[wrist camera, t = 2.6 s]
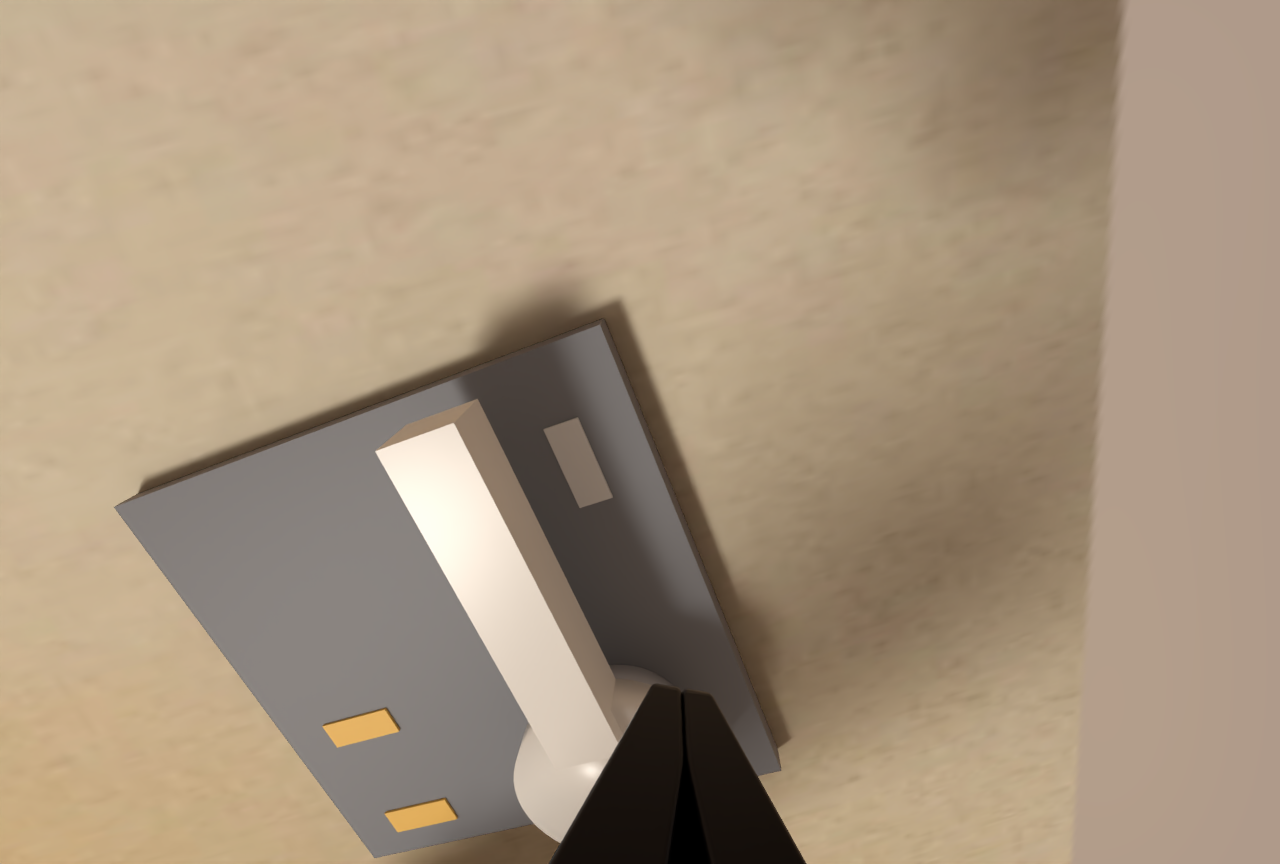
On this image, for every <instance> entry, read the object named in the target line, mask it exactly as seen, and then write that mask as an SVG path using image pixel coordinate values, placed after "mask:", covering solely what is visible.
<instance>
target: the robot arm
mask: <svg viewBox="0 0 1280 864" xmlns="http://www.w3.org/2000/svg"><path fill="white" fill-rule="evenodd" d="M549 864H806V862H805V860H804V859H803V857H802V855H801V853H800V851H799V850H798V848H797V846H796V844H795V842H794V841H793V839H792V837H791V835H790V834H789V832H788V830H787V828H786V826H785V825H784V823H783V821H782V819H781V817H780V816H779V814H778V812H777V810H776V808H775V807H774V805H773V803H772V801H771V799H770V798H769V796H768V794H767V792H766V790H765V789H764V787H763V785H762V783H761V781H760V780H759V778H758V776H757V774H756V773H755V771H754V769H753V767H752V765H751V764H750V762H749V760H748V758H747V756H746V755H745V753H744V751H743V749H742V747H741V746H740V744H739V742H738V740H737V738H736V737H735V735H734V733H733V731H732V729H731V728H730V726H729V724H728V722H727V720H726V719H725V717H724V715H723V713H722V711H721V710H720V708H719V706H718V704H717V703H716V701H715V699H714V697H713V696H712V695H711V694H710V693H708V692H704V691H698V690H693V689H684V690H682V692H681V690H680V689H679V688H678V687H676V686H670V685H664V684H658V683H655V684H653V685H651V687H650V688H649V690H648V692H647V693H646V695H645V697H644V699H643V700H642V702H641V704H640V706H639V707H638V709H637V711H636V713H635V714H634V716H633V718H632V720H631V721H630V723H629V725H628V727H627V728H626V730H625V732H624V733H623V735H622V737H621V739H620V740H619V742H618V744H617V746H616V747H615V749H614V751H613V753H612V754H611V756H610V758H609V760H608V761H607V763H606V765H605V767H604V768H603V770H602V772H601V774H600V775H599V777H598V779H597V780H596V782H595V784H594V786H593V787H592V789H591V791H590V793H589V794H588V796H587V798H586V800H585V801H584V803H583V805H582V807H581V808H580V810H579V812H578V814H577V815H576V817H575V819H574V821H573V822H572V824H571V826H570V827H569V829H568V831H567V833H566V834H565V836H564V838H563V840H562V841H561V843H560V845H559V847H558V848H557V850H556V852H555V854H554V855H553V857H552V859H551V861H550V862H549Z"/></svg>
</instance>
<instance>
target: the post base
mask: <svg viewBox="0 0 1280 864" xmlns="http://www.w3.org/2000/svg"><path fill="white" fill-rule="evenodd" d="M476 399H478V400H479V403H480V405H481V407H482V409H483V411H484V413H485V415H486V417H487V419H488V421H489V423H490V425H491V427H492V429H493V431H494V433H495V435H496V437H497V439H498V441H499V443H500V445H501V447H502V449H503V451H504V453H505V455H506V457H507V459H508V461H509V463H510V465H511V467H512V470H513V472H514V474H515V476H516V478H517V480H518V482H519V484H520V486H521V488H522V490H523V492H524V494H525V496H526V498H527V500H528V502H529V504H530V506H531V508H532V510H533V512H534V514H535V516H536V518H537V520H538V522H539V524H540V526H541V528H542V530H543V532H544V534H545V537H546V539H547V541H548V543H549V545H550V547H551V549H552V551H553V553H554V555H555V557H556V559H557V561H558V563H559V565H560V567H561V569H562V571H563V573H564V575H565V577H566V579H567V581H568V583H569V585H570V587H571V589H572V591H573V593H574V595H575V597H576V599H577V601H578V604H579V606H580V608H581V610H582V612H583V614H584V616H585V618H586V620H587V622H588V624H589V626H590V628H591V630H592V632H593V634H594V636H595V638H596V640H597V642H598V644H599V646H600V648H601V650H602V652H603V654H604V656H605V658H606V660H607V662H608V664H609V666H610V668H611V671H612V673H613V675H614V677H615V679H626V680H634V681H638V682H643V683H647V684H650V685H653V684H655V683H658V684H664V685H670V686H676V687H678V688H679V689H680V690H681V692H682V690H684V689H693V690H698V691H704V692H708V693H710V694H711V695H712V696H713V697H714V699H715V701H716V703H717V704H718V706H719V708H720V710H721V711H722V713H723V715H724V717H725V719H726V720H727V722H728V724H729V726H730V728H731V729H732V731H733V733H734V735H735V737H736V738H737V740H738V742H739V744H740V746H741V747H742V749H743V751H744V753H745V755H746V756H747V758H748V760H749V762H750V764H751V765H752V767H753V769H754V771H755V773H756V774H757V776H759V775H763V774H768V773H773V772H777V771H781V765H780V759H779V753H778V749H777V746H776V744H775V741H774V739H773V736H772V734H771V731H770V729H769V726H768V724H767V721H766V719H765V716H764V714H763V711H762V709H761V706H760V704H759V701H758V699H757V697H756V694H755V692H754V689H753V687H752V684H751V682H750V679H749V677H748V674H747V672H746V669H745V667H744V664H743V662H742V659H741V657H740V654H739V652H738V649H737V647H736V644H735V642H734V639H733V637H732V635H731V632H730V630H729V627H728V625H727V622H726V620H725V617H724V615H723V612H722V610H721V607H720V605H719V602H718V600H717V597H716V595H715V592H714V590H713V587H712V585H711V582H710V580H709V577H708V575H707V572H706V570H705V568H704V565H703V563H702V560H701V558H700V555H699V553H698V550H697V548H696V545H695V543H694V540H693V538H692V535H691V533H690V530H689V528H688V525H687V523H686V520H685V518H684V515H683V513H682V510H681V508H680V506H679V503H678V501H677V498H676V496H675V493H674V491H673V488H672V486H671V483H670V481H669V478H668V476H667V473H666V471H665V468H664V466H663V463H662V461H661V458H660V456H659V453H658V451H657V448H656V446H655V443H654V441H653V439H652V436H651V434H650V431H649V429H648V426H647V424H646V421H645V419H644V416H643V414H642V411H641V409H640V406H639V404H638V401H637V399H636V396H635V394H634V391H633V389H632V386H631V384H630V381H629V379H628V377H627V374H626V372H625V369H624V367H623V364H622V362H621V359H620V357H619V354H618V352H617V349H616V347H615V344H614V342H613V339H612V337H611V334H610V332H609V329H608V327H607V324H606V322H605V319H604V318H603V319H600V320H598V321H595V322H593V323H590V324H587V325H585V326H582V327H579V328H577V329H574V330H571V331H569V332H566V333H563V334H561V335H558V336H555V337H553V338H550V339H547V340H545V341H542V342H539V343H537V344H534V345H532V346H529V347H526V348H524V349H521V350H518V351H516V352H513V353H510V354H508V355H505V356H502V357H500V358H497V359H494V360H492V361H489V362H486V363H484V364H481V365H478V366H476V367H473V368H470V369H468V370H465V371H463V372H460V373H457V374H455V375H452V376H449V377H447V378H444V379H441V380H439V381H436V382H433V383H431V384H428V385H425V386H423V387H420V388H417V389H415V390H412V391H409V392H407V393H404V394H402V395H399V396H396V397H394V398H391V399H388V400H386V401H383V402H380V403H378V404H375V405H372V406H370V407H367V408H364V409H362V410H359V411H356V412H354V413H351V414H348V415H346V416H343V417H341V418H338V419H335V420H333V421H330V422H327V423H325V424H322V425H319V426H317V427H314V428H311V429H309V430H306V431H303V432H301V433H298V434H295V435H293V436H290V437H287V438H285V439H282V440H279V441H277V442H274V443H272V444H269V445H266V446H264V447H261V448H258V449H256V450H253V451H250V452H248V453H245V454H242V455H240V456H237V457H234V458H232V459H229V460H226V461H224V462H221V463H218V464H216V465H213V466H211V467H208V468H205V469H203V470H200V471H197V472H195V473H192V474H189V475H187V476H184V477H181V478H179V479H176V480H173V481H171V482H168V483H165V484H163V485H160V486H157V487H155V488H152V489H150V490H147V491H144V492H142V493H139V494H136V495H135V496H133V497H131V498H129V499H127V500H126V501H124V502H122V503H120V504H118V505H117V506H115V507H114V508H115V509H116V511H117V512H118V513H119V515H120V516H121V517H122V519H123V520H124V521H125V523H126V524H127V525H128V527H129V528H130V529H131V531H132V532H133V534H134V535H135V536H136V538H137V539H138V540H139V542H140V543H141V544H142V546H143V547H144V548H145V550H146V551H147V552H148V554H149V555H150V556H151V558H152V559H153V560H154V562H155V563H156V564H157V566H158V567H159V569H160V570H161V571H162V573H163V574H164V575H165V577H166V578H167V579H168V581H169V582H170V583H171V585H172V586H173V587H174V589H175V590H176V591H177V593H178V594H179V595H180V597H181V598H182V599H183V601H184V602H185V604H186V605H187V606H188V608H189V609H190V610H191V612H192V613H193V614H194V616H195V617H196V618H197V620H198V621H199V622H200V624H201V625H202V626H203V628H204V629H205V630H206V632H207V633H208V634H209V636H210V637H211V639H212V640H213V641H214V643H215V644H216V645H217V647H218V648H219V649H220V651H221V652H222V653H223V655H224V656H225V657H226V659H227V660H228V661H229V663H230V664H231V665H232V667H233V668H234V669H235V671H236V672H237V674H238V675H239V676H240V678H241V679H242V680H243V682H244V683H245V684H246V686H247V687H248V688H249V690H250V691H251V692H252V694H253V695H254V696H255V698H256V699H257V700H258V702H259V703H260V704H261V706H262V707H263V709H264V710H265V711H266V713H267V714H268V715H269V717H270V718H271V719H272V721H273V722H274V723H275V725H276V726H277V727H278V729H279V730H280V731H281V733H282V734H283V735H284V737H285V738H286V739H287V741H288V742H289V744H290V745H291V746H292V748H293V749H294V750H295V752H296V753H297V754H298V756H299V757H300V758H301V760H302V761H303V762H304V764H305V765H306V766H307V768H308V769H309V770H310V772H311V773H312V774H313V776H314V777H315V779H316V780H317V781H318V783H319V784H320V785H321V787H322V788H323V789H324V791H325V792H326V793H327V795H328V796H329V797H330V799H331V800H332V801H333V803H334V804H335V805H336V807H337V808H338V809H339V811H340V812H341V814H342V815H343V816H344V818H345V819H346V820H347V822H348V823H349V824H350V826H351V827H352V828H353V830H354V831H355V832H356V834H357V835H358V836H359V838H360V839H361V840H362V842H363V843H364V844H365V846H366V847H367V849H368V850H369V851H370V853H371V854H372V855H373V857H374V858H377V857H382V856H387V855H391V854H396V853H401V852H405V851H410V850H415V849H419V848H424V847H429V846H433V845H438V844H443V843H447V842H452V841H456V840H461V839H466V838H470V837H475V836H480V835H484V834H489V833H494V832H498V831H503V830H508V829H512V828H517V827H522V826H526V825H531V824H534V823H533V822H532V821H531V820H530V819H529V817H528V816H527V814H526V813H525V812H524V810H523V809H522V807H521V805H520V803H519V801H518V798H517V795H516V792H515V787H514V768H515V763H516V759H517V756H518V753H519V749H520V746H521V742H522V739H523V736H524V732H525V729H526V726H527V724H528V720H527V718H526V717H525V715H524V713H523V711H522V710H521V708H520V706H519V704H518V703H517V701H516V699H515V697H514V696H513V694H512V692H511V690H510V688H509V687H508V685H507V683H506V681H505V680H504V678H503V676H502V674H501V673H500V671H499V669H498V667H497V666H496V664H495V662H494V660H493V659H492V657H491V655H490V653H489V651H488V650H487V648H486V646H485V644H484V643H483V641H482V639H481V637H480V636H479V634H478V632H477V630H476V629H475V627H474V625H473V623H472V621H471V620H470V618H469V616H468V614H467V613H466V611H465V609H464V607H463V606H462V604H461V602H460V600H459V599H458V597H457V595H456V593H455V592H454V590H453V588H452V586H451V584H450V583H449V581H448V579H447V577H446V576H445V574H444V572H443V570H442V569H441V567H440V565H439V563H438V562H437V560H436V558H435V556H434V554H433V553H432V551H431V549H430V547H429V546H428V544H427V542H426V540H425V539H424V537H423V535H422V533H421V532H420V530H419V528H418V526H417V525H416V523H415V521H414V519H413V517H412V516H411V514H410V512H409V510H408V509H407V507H406V505H405V503H404V502H403V500H402V498H401V496H400V495H399V493H398V491H397V489H396V487H395V486H394V484H393V482H392V480H391V479H390V477H389V475H388V473H387V472H386V470H385V468H384V466H383V465H382V463H381V461H380V459H379V458H378V456H377V454H376V452H375V451H376V450H377V449H378V448H379V447H381V446H382V445H383V444H384V443H385V442H386V441H388V440H389V439H390V438H391V437H392V436H394V435H395V434H396V433H397V432H398V431H400V430H401V429H402V428H403V427H404V426H405V425H407V424H410V423H413V422H415V421H418V420H421V419H424V418H426V417H429V416H432V415H435V414H437V413H440V412H443V411H445V410H448V409H451V408H454V407H456V406H459V405H462V404H465V403H467V402H470V401H473V400H476Z"/></svg>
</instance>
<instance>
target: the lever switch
mask: <svg viewBox="0 0 1280 864" xmlns="http://www.w3.org/2000/svg"><path fill="white" fill-rule="evenodd" d="M375 452H376V454H377V456H378V458H379V459H380V461H381V463H382V465H383V466H384V468H385V470H386V472H387V473H388V475H389V477H390V479H391V480H392V482H393V484H394V486H395V487H396V489H397V491H398V493H399V495H400V496H401V498H402V500H403V502H404V503H405V505H406V507H407V509H408V510H409V512H410V514H411V516H412V517H413V519H414V521H415V523H416V525H417V526H418V528H419V530H420V532H421V533H422V535H423V537H424V539H425V540H426V542H427V544H428V546H429V547H430V549H431V551H432V553H433V554H434V556H435V558H436V560H437V562H438V563H439V565H440V567H441V569H442V570H443V572H444V574H445V576H446V577H447V579H448V581H449V583H450V584H451V586H452V588H453V590H454V592H455V593H456V595H457V597H458V599H459V600H460V602H461V604H462V606H463V607H464V609H465V611H466V613H467V614H468V616H469V618H470V620H471V621H472V623H473V625H474V627H475V629H476V630H477V632H478V634H479V636H480V637H481V639H482V641H483V643H484V644H485V646H486V648H487V650H488V651H489V653H490V655H491V657H492V659H493V660H494V662H495V664H496V666H497V667H498V669H499V671H500V673H501V674H502V676H503V678H504V680H505V681H506V683H507V685H508V687H509V688H510V690H511V692H512V694H513V696H514V697H515V699H516V701H517V703H518V704H519V706H520V708H521V710H522V711H523V713H524V715H525V717H526V718H527V720H528V724H527V726H526V729H525V732H524V736H523V739H522V742H521V746H520V749H519V753H518V756H517V759H516V763H515V768H514V787H515V792H516V795H517V798H518V801H519V803H520V805H521V807H522V809H523V810H524V812H525V813H526V814H527V816H528V817H529V819H530V820H531V821H532V822H533V823H534V824H535V825H536V826H537V827H538V828H539V829H540V830H542V831H543V832H544V833H545V834H547V835H548V836H550V837H551V838H552V839H554V840H556V841H557V842H559V843H561V841H562V840H563V838H564V836H565V834H566V833H567V831H568V829H569V827H570V826H571V824H572V822H573V821H574V819H575V817H576V815H577V814H578V812H579V810H580V808H581V807H582V805H583V803H584V801H585V800H586V798H587V796H588V794H589V793H590V791H591V789H592V787H593V786H594V784H595V782H596V780H597V779H598V777H599V775H600V774H601V772H602V770H603V768H604V767H605V765H606V763H607V761H608V760H609V758H610V756H611V754H612V753H613V751H614V749H615V747H616V746H617V744H618V742H619V740H620V739H621V737H622V735H623V733H624V732H625V730H626V728H627V727H628V725H629V723H630V721H631V720H632V718H633V716H634V714H635V713H636V711H637V709H638V707H639V706H640V704H641V702H642V700H643V699H644V697H645V695H646V693H647V692H648V690H649V688H650V687H651V685H650V684H647V683H643V682H638V681H634V680H626V679H615V677H614V675H613V673H612V671H611V668H610V666H609V664H608V662H607V660H606V658H605V656H604V654H603V652H602V650H601V648H600V646H599V644H598V642H597V640H596V638H595V636H594V634H593V632H592V630H591V628H590V626H589V624H588V622H587V620H586V618H585V616H584V614H583V612H582V610H581V608H580V606H579V604H578V601H577V599H576V597H575V595H574V593H573V591H572V589H571V587H570V585H569V583H568V581H567V579H566V577H565V575H564V573H563V571H562V569H561V567H560V565H559V563H558V561H557V559H556V557H555V555H554V553H553V551H552V549H551V547H550V545H549V543H548V541H547V539H546V537H545V534H544V532H543V530H542V528H541V526H540V524H539V522H538V520H537V518H536V516H535V514H534V512H533V510H532V508H531V506H530V504H529V502H528V500H527V498H526V496H525V494H524V492H523V490H522V488H521V486H520V484H519V482H518V480H517V478H516V476H515V474H514V472H513V470H512V467H511V465H510V463H509V461H508V459H507V457H506V455H505V453H504V451H503V449H502V447H501V445H500V443H499V441H498V439H497V437H496V435H495V433H494V431H493V429H492V427H491V425H490V423H489V421H488V419H487V417H486V415H485V413H484V411H483V409H482V407H481V405H480V403H479V400H478V399H476V400H473V401H470V402H467V403H465V404H462V405H459V406H456V407H454V408H451V409H448V410H445V411H443V412H440V413H437V414H435V415H432V416H429V417H426V418H424V419H421V420H418V421H415V422H413V423H410V424H407V425H405V426H404V427H403V428H402V429H401V430H400V431H398V432H397V433H396V434H395V435H394V436H392V437H391V438H390V439H389V440H388V441H386V442H385V443H384V444H383V445H382V446H381V447H379V448H378V449H377V450H376V451H375Z"/></svg>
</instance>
